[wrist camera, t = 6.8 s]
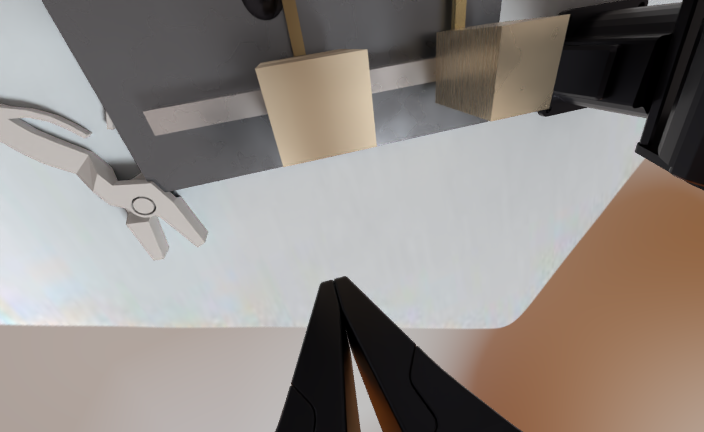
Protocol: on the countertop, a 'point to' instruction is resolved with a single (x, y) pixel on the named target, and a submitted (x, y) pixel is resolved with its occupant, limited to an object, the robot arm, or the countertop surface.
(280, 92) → the block
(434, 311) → the countertop surface
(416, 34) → the plate
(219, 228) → the countertop surface
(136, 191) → the pliers
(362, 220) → the countertop surface
